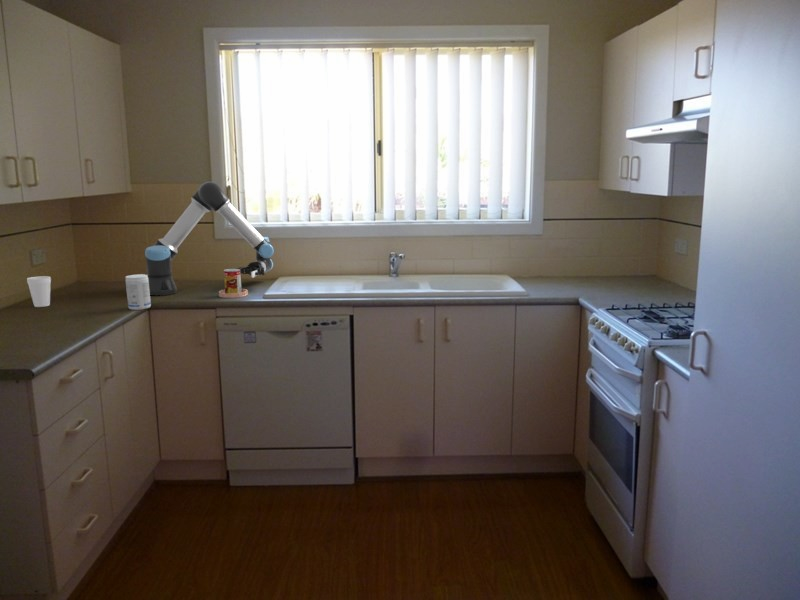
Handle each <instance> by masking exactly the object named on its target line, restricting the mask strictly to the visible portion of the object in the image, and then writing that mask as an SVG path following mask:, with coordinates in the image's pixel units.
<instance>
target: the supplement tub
mask: <svg viewBox="0 0 800 600" xmlns="http://www.w3.org/2000/svg"><path fill="white" fill-rule="evenodd" d="M124 278H125V288H126V290H125V291H126V298H127V306H128V307H127V308H128V309H129V310H133V311H139V310H140V311H141V310H145V309H150V308H151V306H152V302H151V301H152V300H151V296H150V290H149V281H148V276H147V274H144V273H140V274H138V273H137V274H131V275H126V276H125V277H124Z"/></svg>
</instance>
